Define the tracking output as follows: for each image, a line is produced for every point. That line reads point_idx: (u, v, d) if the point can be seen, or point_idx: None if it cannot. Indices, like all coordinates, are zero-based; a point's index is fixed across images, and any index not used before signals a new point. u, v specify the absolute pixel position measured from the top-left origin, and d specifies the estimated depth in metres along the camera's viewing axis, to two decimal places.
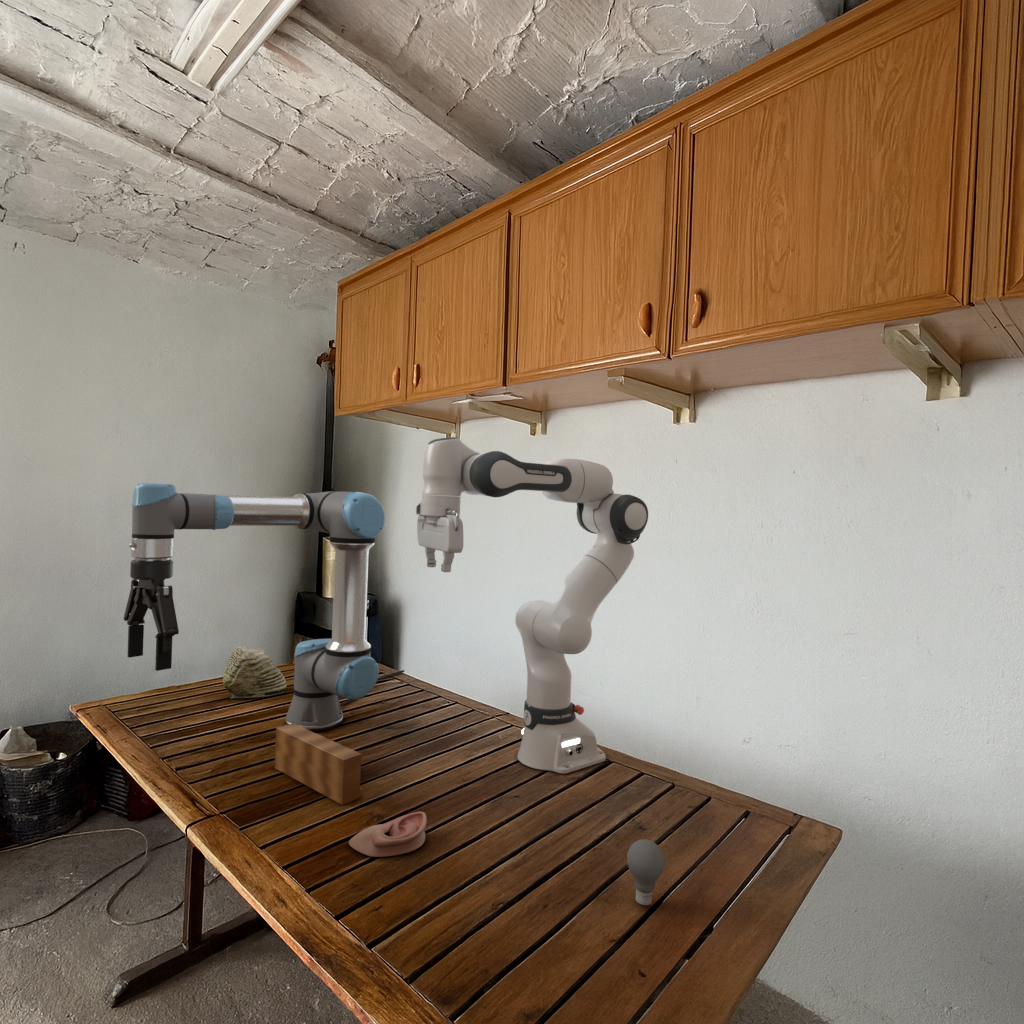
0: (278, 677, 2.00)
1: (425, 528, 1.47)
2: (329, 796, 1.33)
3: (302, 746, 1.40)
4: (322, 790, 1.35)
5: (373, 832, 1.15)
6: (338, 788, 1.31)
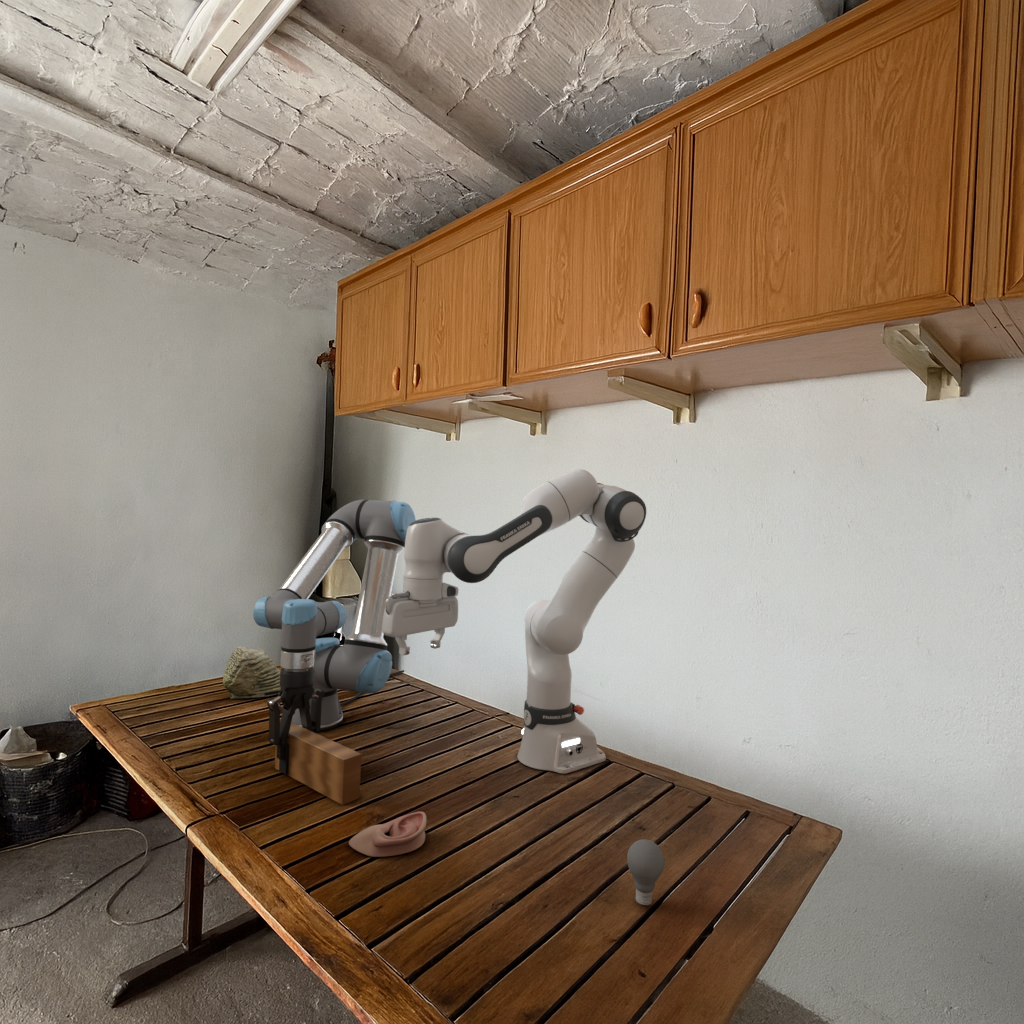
0: (278, 677, 2.00)
1: None
2: (329, 796, 1.33)
3: (302, 746, 1.40)
4: (322, 790, 1.35)
5: (373, 832, 1.15)
6: (338, 788, 1.31)
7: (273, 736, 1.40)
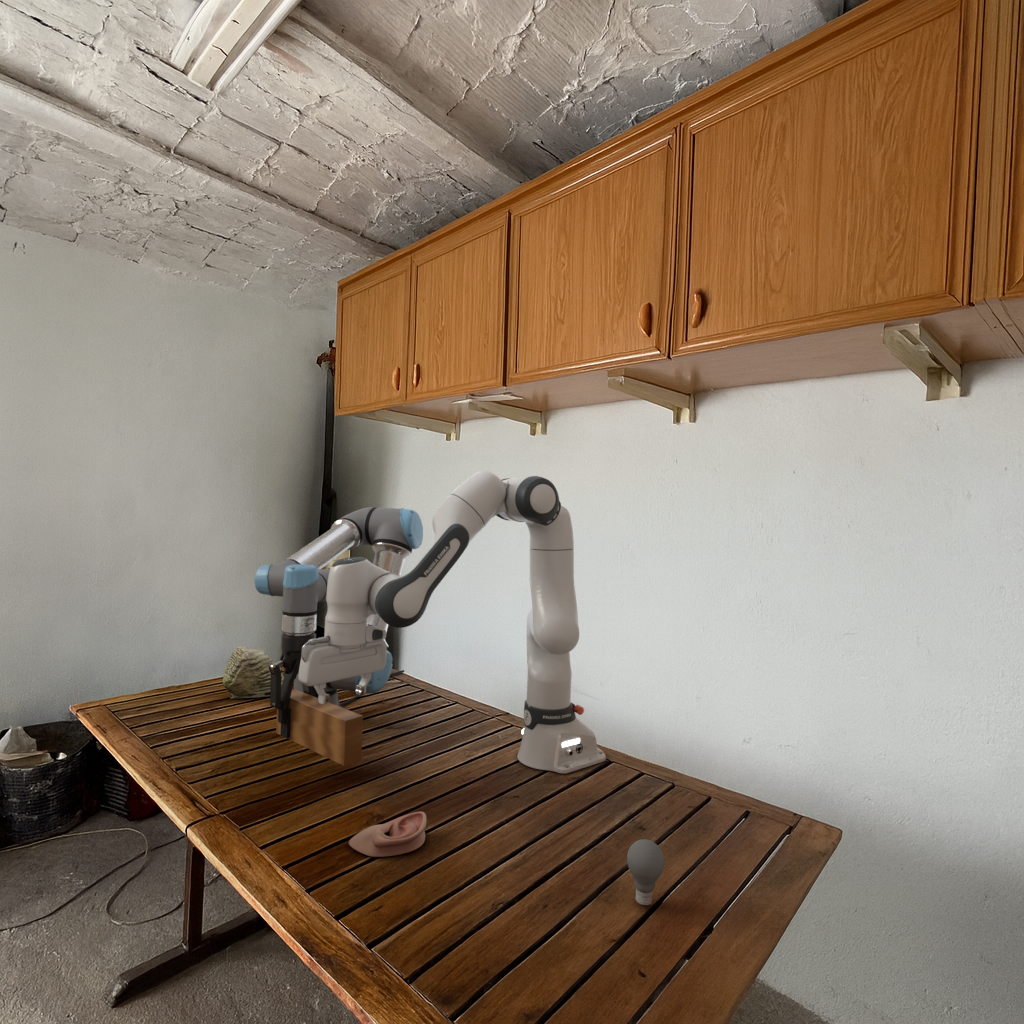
0: None
1: None
2: (331, 758, 1.33)
3: (303, 710, 1.40)
4: (324, 752, 1.35)
5: (373, 832, 1.15)
6: (339, 750, 1.31)
7: (274, 700, 1.40)
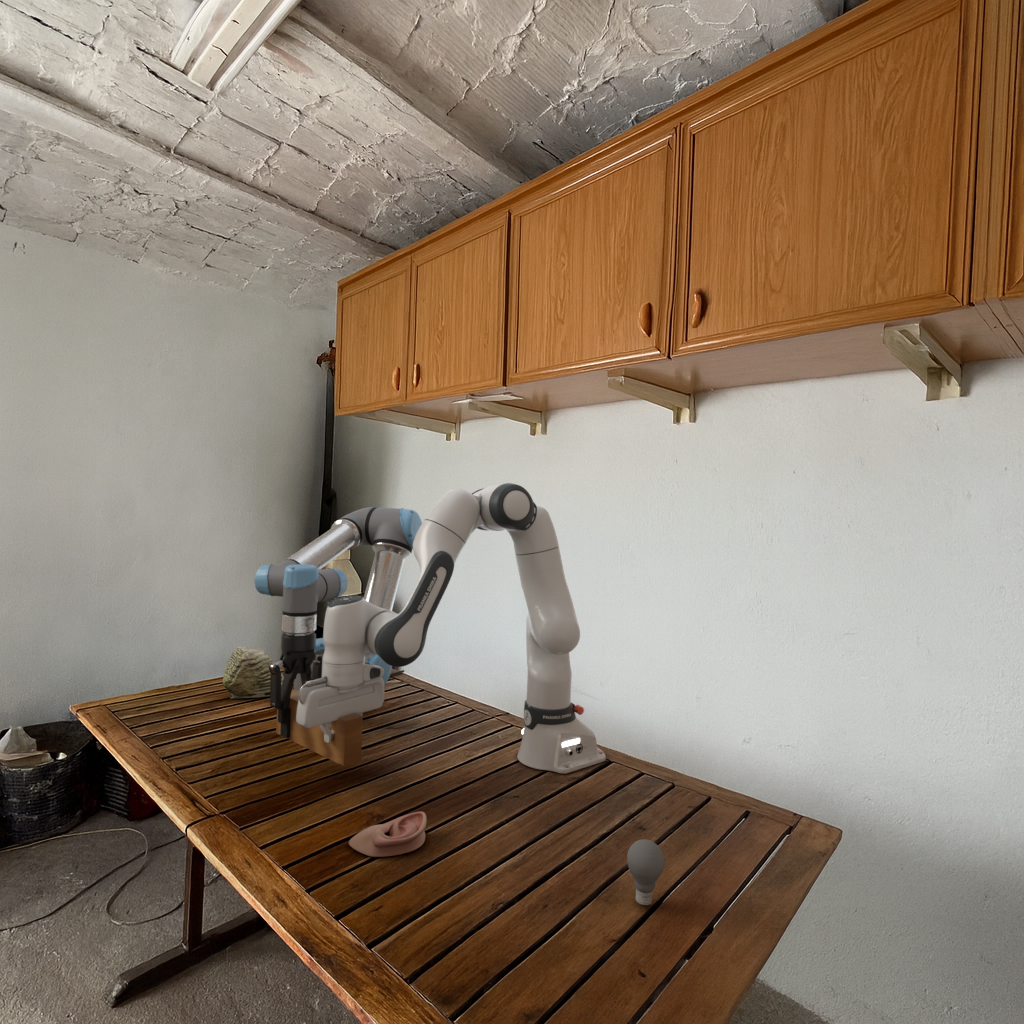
0: None
1: None
2: (330, 758, 1.33)
3: None
4: (324, 752, 1.35)
5: (373, 832, 1.15)
6: (339, 750, 1.31)
7: (274, 700, 1.40)
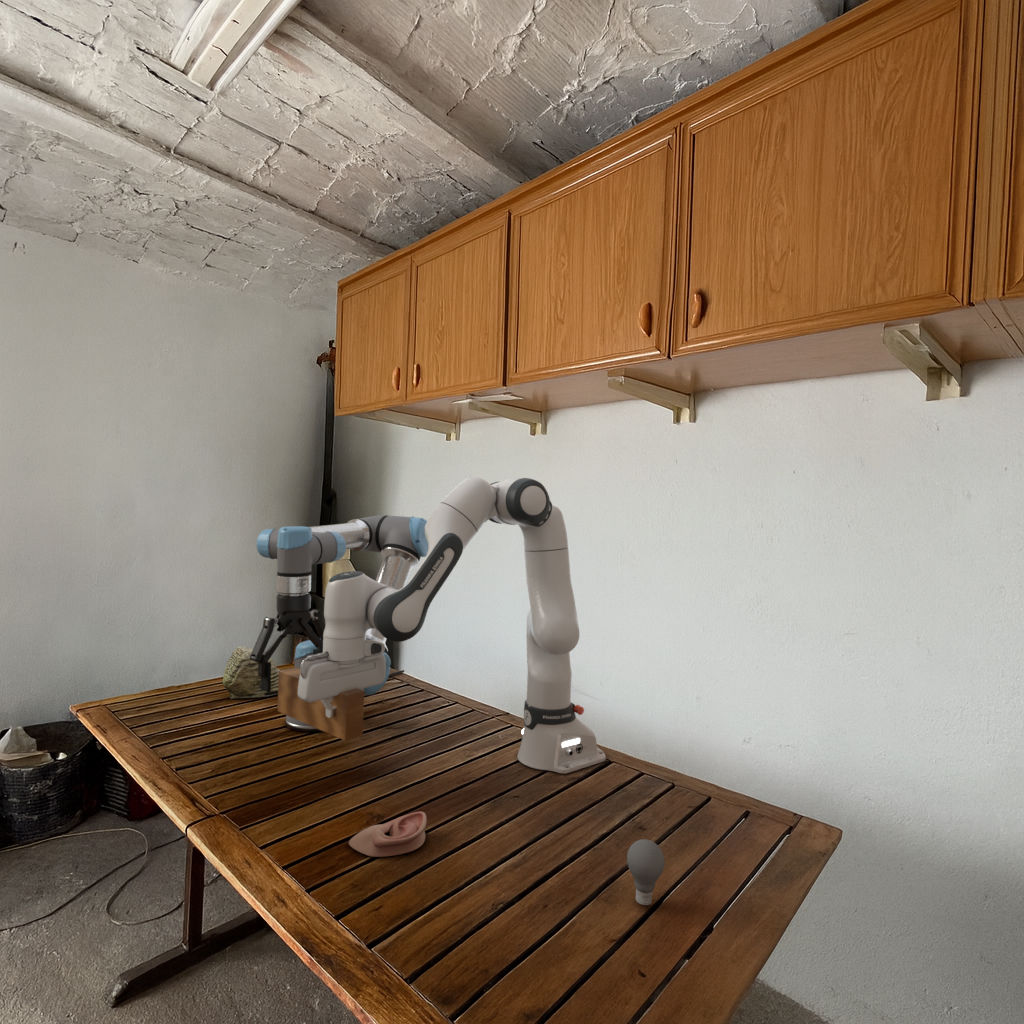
0: (278, 677, 2.00)
1: None
2: (332, 733, 1.33)
3: None
4: (325, 728, 1.35)
5: (373, 832, 1.15)
6: (341, 725, 1.31)
7: (257, 652, 1.39)
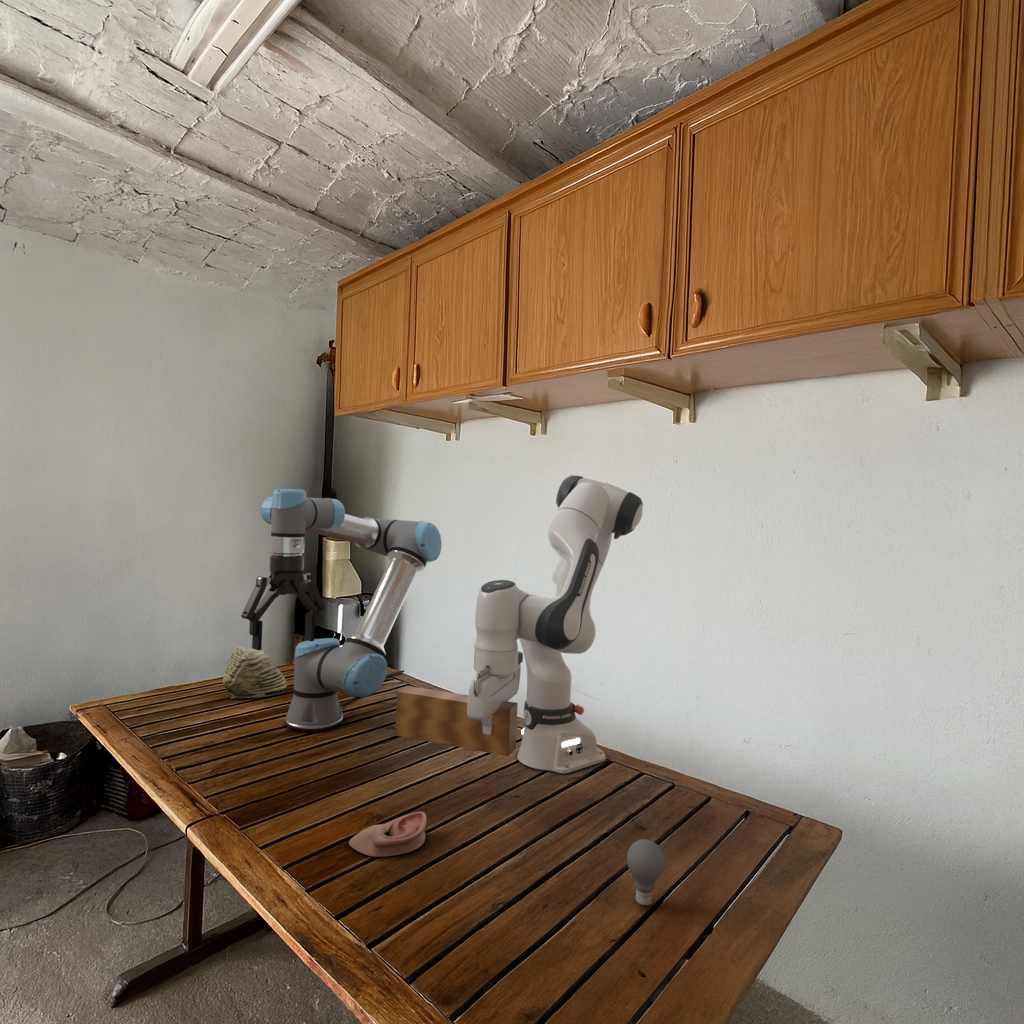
0: (278, 677, 2.00)
1: None
2: (487, 750, 1.27)
3: (441, 705, 1.30)
4: (476, 746, 1.28)
5: (373, 832, 1.15)
6: (501, 740, 1.26)
7: (248, 609, 1.41)
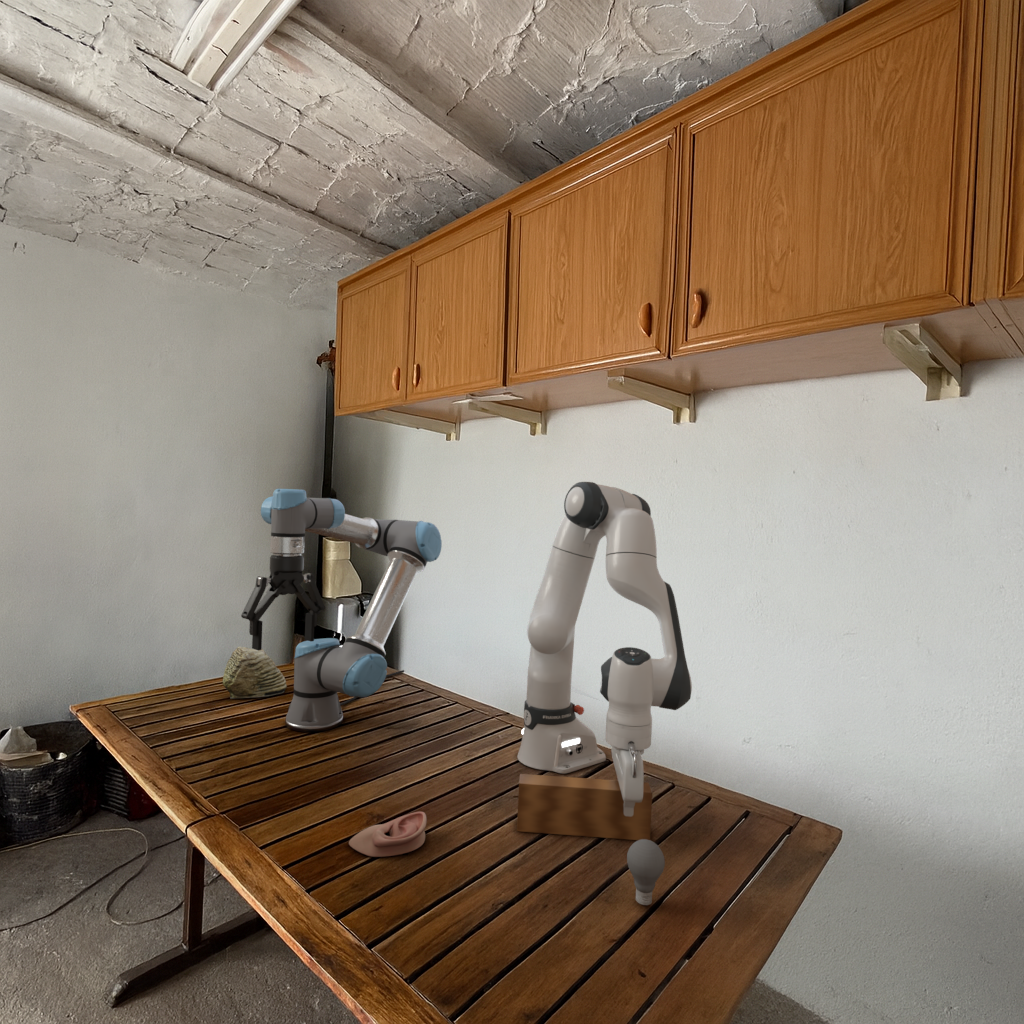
0: (278, 677, 2.00)
1: None
2: (626, 837, 1.22)
3: (574, 794, 1.22)
4: (614, 833, 1.22)
5: (373, 832, 1.15)
6: (642, 825, 1.22)
7: (248, 609, 1.41)
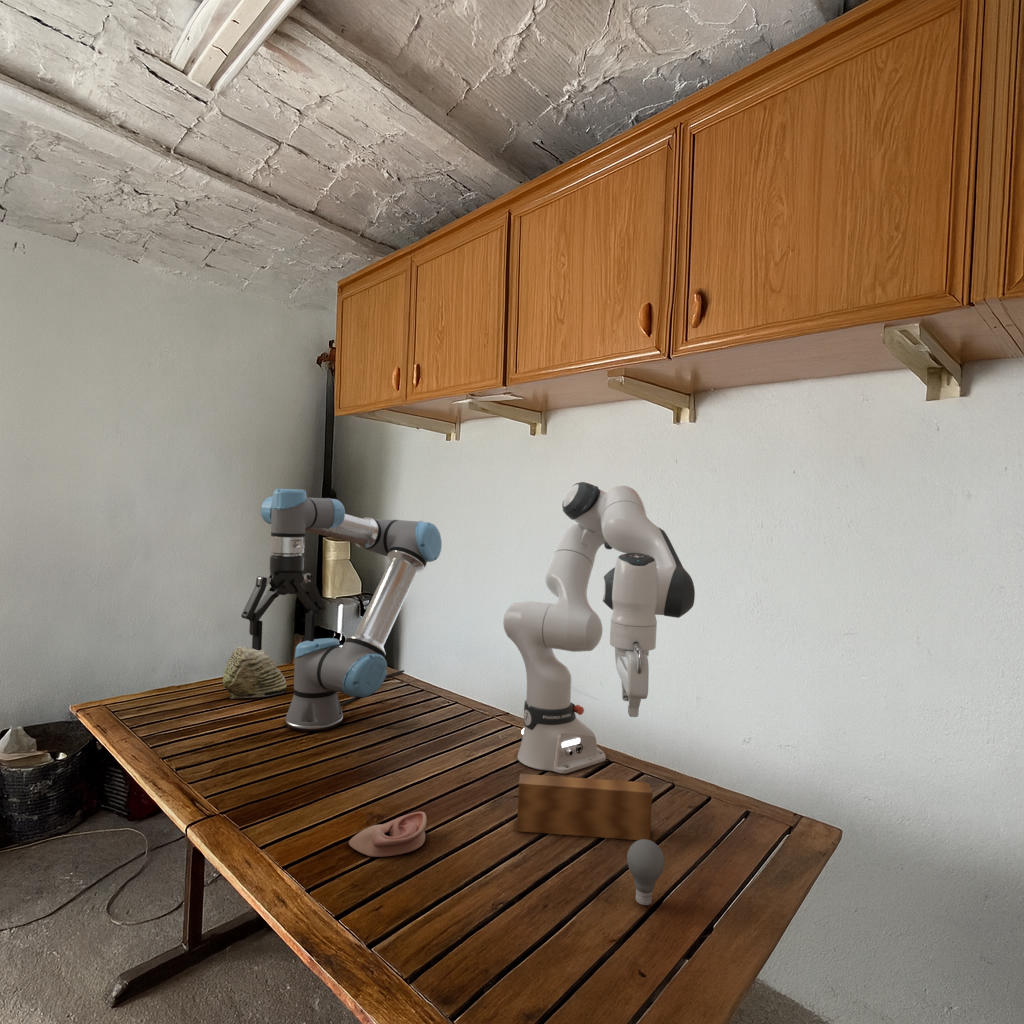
0: (278, 677, 2.00)
1: None
2: (626, 837, 1.22)
3: (574, 794, 1.22)
4: (614, 833, 1.22)
5: (373, 832, 1.15)
6: (642, 825, 1.22)
7: (248, 609, 1.41)
